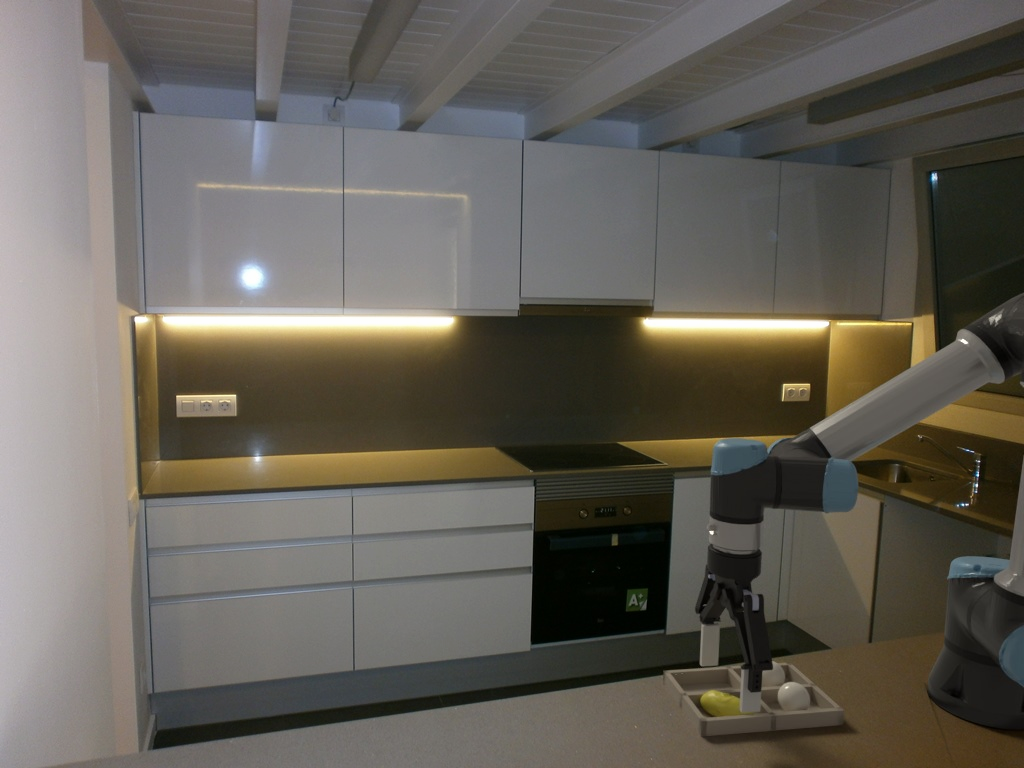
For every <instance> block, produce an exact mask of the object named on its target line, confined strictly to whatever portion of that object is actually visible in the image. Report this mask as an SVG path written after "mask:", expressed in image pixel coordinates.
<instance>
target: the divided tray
mask: <svg viewBox="0 0 1024 768" xmlns="http://www.w3.org/2000/svg"><path fill="white" fill-rule="evenodd" d="M778 664H779V665H780V666H781V667H782V669H783V670H784V673H785V682H784V684H785V683H788V682H796V683H799V684H801V685H802V686H803V687H805V689H806V690H807V691H808V693H809V696H810V706H809V708H808V710H800V711H787V712H786V711H784V710H783V709H782V707H781V706H780V704H779V702H778V691H779V689H780V687H781V686H773V687H762V689H761V707H760V711H759V712H755V714H749V715H736V716H723V717H715V716H713V715H711V714H709V713H708V712H706V711H705V710H704V709H703V707H702V706H701V702H700V699H701V697H702V696H703V694H705V693H706V692H708V691H711V690H716V691H719V692H723V693H726V694H730V695H732V696H735V697H737V698H740V690H741V669H742V668H741V666H742V665H733V666H732V665H730V666H715V667H714V666H712V667H702V668H701V667H700V668H699V667H698V668H687V669H686V668H685V669H683V668H682V669H669V670H663V673H662V674H663V675H662V685H663V686H664V688H665V690H667V692H668V693H669V694H670V696H671V697H672V699H673V701H675V703H676V704H677V706H678V707H679V708H680V710H681V711H682V713H683V714H684V715H685V716H686V718H687V719H688V720H689V722H690V723H691V725H692V727H694V729H695V730H696V731H697V733H698V734H699V735H700V737H711V736H725V735H734V734H735V735H737V734H745V733H747V734H748V733H759V732H769V731H770V732H772V731H773V732H774V731H782V730H783V731H785V730H796V729H806V728H807V729H808V728H809V729H810V728H811V729H812V728H820V727H832V726H843V725H844V714H845V713H844V712H845V710H844V709H843V708H842V707H841V706H840V705H839V704H838V703H836V702H835V701H834V700H833V699H832V698H831V697H830V696H829V695H827V694H826V693H825V692H824V691H823V690H822V689H821V688H820V687H818V686H817V685H816V684H815V683H814V682H813V681H811V679H809V678H808V676H806V675H805V674H804V673H802V672H801V670H799V669H798V668H797V667H796V666H795V665H794V664H792V663H791V662H778ZM694 671H695V672H694ZM681 673H683V674H681ZM675 674H677V675H675Z"/></svg>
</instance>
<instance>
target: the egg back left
mask: <svg viewBox="0 0 1024 768" xmlns="http://www.w3.org/2000/svg"><path fill="white" fill-rule="evenodd" d="M778 702H779V704H780V706H781V707H782V709H783V710H784V711H786V712H787V711H800V710H808V708H809V706H810V696H809V693H808V691H807V690H806V689H805V687H803V686H802V685H801V684H799V683H796V682H788V683H785V684H783V685H782V686H781V687H780V689H779V691H778Z"/></svg>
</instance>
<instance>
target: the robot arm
mask: <svg viewBox="0 0 1024 768" xmlns="http://www.w3.org/2000/svg"><path fill="white" fill-rule="evenodd" d="M956 334H957V335H956V338H955V340H954V341H953V342H951V343H950V344H948V345H946V346H945V347H943V348H941V349H940V350H937V351H936V352H934V353H933V354H931V355H929V356H928V357H926V358H924V359H923V360H921V361H919V362H917V363H916V364H914V365H912V366H911V367H909V368H908V369H906V370H904V371H903V372H901V373H899V374H898V375H896V376H894V377H893V378H891V379H889V380H887V381H886V382H885V383H882V384H881V385H879V386H877V387H876V388H874V389H873V390H871V391H869V392H867V393H866V394H864V395H862V396H861V397H859V398H858V399H856V400H854V401H852V402H851V403H849V404H847V405H846V406H844V407H842V408H841V409H839V410H837V411H836V412H834V413H833V414H831V415H829V416H827V417H826V418H824V419H823V420H820V421H819V422H817V423H816V424H814V425H812V426H811V427H809V428H808V429H806V430H804V431H802V432H800V433H798V434H797V435H795V436H793V437H785V438H784V437H783V438H779V439H777V440H776V441H774V442H773V443H771V444H770V445H769V447H768V446H767V445H766V444H765V442H763V441H761V440H758V439H757V440H756V439H750V438H749V439H747V438H740V437H739V438H737V437H735V438H734V437H733V438H732V437H731V438H723V439H720V440H718V441H717V442H716V443H715V444H714V445H713V448H712V449H713V450H712V460H711V468H710V486H709V487H710V488H709V489H710V491H709V492H710V493H709V519H708V520H709V521H708V522H709V524H707V525H706V530H707V531H708V542H709V543H710V544H709V545H708V546H707V560H706V564H705V569H704V577H703V581H702V584H701V587H700V590H699V594H698V597H697V600H696V604H695V607H694V612H695V614H696V615H699V617H698V618H699V621H700V623H701V628H700V629H701V630H700V647H699V648H700V651H699V665H700V666H701V667H714V666H715V667H717V666H719V655H720V654H719V652H720V651H719V648H720V634H721V633H720V632H721V631H720V630H721V625H720V624H719V622H722V620H721V616H722V614H723V613H724V611H725V610H727V611H728V615H729V618H730V620H731V621H733V622H734V625H735V630H736V633H737V637H738V641H739V644H740V648H741V649H740V650H741V653H742V657H743V660H744V664H742V665H740V666H741V668H742V669H741V690H740V711H741V712H742V713H746V712H759V711H760V707H761V689H762V672H763V671H766V670H772V669H773V663H772V661H773V657H772V652H771V646H770V640H769V632H768V628H767V622H766V616H765V597H764V594H762V593H754V592H753V588H752V582H753V581H754V580H755V579H757V578H758V577H759V576H760V575H761V573H762V559H763V557H762V556H763V552H762V550H761V548H762V547H763V540H764V539H763V538H764V523H765V522H764V521H765V519H764V516H765V515H764V513H765V509H773V510H788V511H789V510H790V511H802V512H820V513H824V514H829V513H848V512H849V513H850V512H851V511H852V510H853V509H854V508H855V506H856V505H857V500H858V495H859V477H858V471H857V468H856V466H855V464H854V463H853V462H852V461H854V460H856V459H857V458H860V457H861V456H862V455H864V454H866V453H868V452H870V451H872V450H873V449H875V448H877V447H878V446H879V445H880V446H881V445H882V444H883V443H886V442H887V441H889V440H890V439H892V438H894V437H896V436H897V435H899V434H901V433H903V432H905V431H906V430H908V429H910V428H911V427H913V426H916V424H919V422H922V421H923V420H925V419H926V418H928V417H931V416H932V415H934V414H935V413H937V412H939V411H941V410H943V409H945V408H946V407H948V406H949V405H952V404H953V403H955V402H957V401H958V400H961V399H962V398H964V397H966V396H968V395H969V394H971V393H972V392H974V391H976V390H977V389H979V388H981V387H983V386H984V385H986V384H989V383H991V384H997V385H999V384H1002V383H1004V382H1005V381H1007V380H1010V379H1011V378H1013V377H1015V376H1017V375H1020V381H1019V384H1020V385H1021V386H1022V388H1024V292H1023V293H1020V294H1018V295H1016V296H1014V297H1011V298H1010V299H1008V300H1007V301H1005V302H1004V303H1002V304H1000V305H999V306H996V307H995V308H993V309H992V310H990V311H989V312H987V313H986V314H983V315H982V316H981V317H979V318H978V319H975V320H974V321H973V322H971V323H969V324H967V325H966V326H965V327H963V328H961V329H959V330H958V331H957V333H956ZM1018 487H1019V488H1018V489H1019V490H1018V496H1017V503H1016V511H1015V519H1014V523H1013V524H1014V527H1013V532H1012V540H1011V548H1010V557H1009V559H1004V558H997V557H990V556H989V557H988V556H979V555H978V556H975V555H972V556H971V555H970V556H969V555H967V556H959V557H956V558H954V559H953V560H952V561H951V562H950V566H949V572H948V576H947V577H946V579H947V593H946V604H945V605H946V607H945V622H944V634H943V635H944V639H943V646H942V648H941V650H940V653H939V654H938V657H937V659H936V661H935V663H934V664H933V667H932V669H931V670H930V672H929V674H928V680H927V694H928V696H929V697H930V699H931V700H932V701H933V702H934V704H935V705H937V706H939V707H940V708H942V709H943V710H945V711H946V712H948V713H950V714H952V715H954V716H956V717H959V718H961V719H963V720H967V721H969V722H971V723H974V724H977V725H978V724H979V725H982V726H985V727H991V728H994V729H995V728H996V729H1003V730H1014V731H1015V730H1019V731H1020V730H1024V456H1023V459H1022V465H1021V474H1020V480H1019V486H1018Z"/></svg>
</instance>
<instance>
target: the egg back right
mask: <svg viewBox="0 0 1024 768" xmlns="http://www.w3.org/2000/svg"><path fill="white" fill-rule="evenodd" d="M772 663H773V669H772V670H766V671H763V672H762V687H773V686H782V685H783V684H784V682H785V673H784V670H783V669H782V667H781V666H780V665H779V664H778V663H779V662H778V663H777V662H776V661H775V660H774V661H773V660H772Z"/></svg>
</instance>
